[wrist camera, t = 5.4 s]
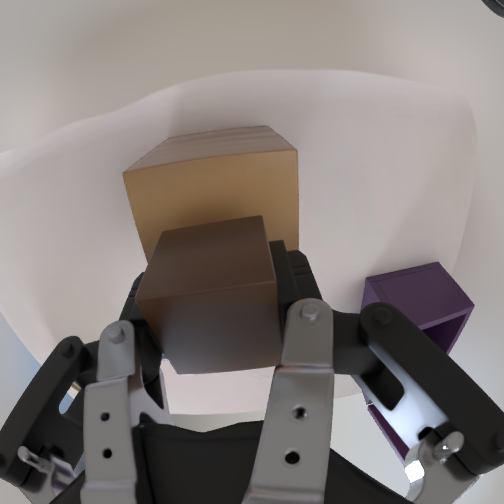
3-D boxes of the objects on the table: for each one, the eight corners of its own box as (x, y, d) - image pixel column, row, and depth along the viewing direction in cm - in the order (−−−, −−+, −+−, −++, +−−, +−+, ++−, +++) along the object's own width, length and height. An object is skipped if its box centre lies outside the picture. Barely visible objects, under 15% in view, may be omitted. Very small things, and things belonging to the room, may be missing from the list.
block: (161, 230, 10) (132, 299, 7) (262, 213, 10) (276, 280, 7) (188, 304, 13) (177, 375, 9) (272, 293, 12) (285, 365, 9)
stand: (167, 138, 20) (121, 172, 11) (269, 125, 20) (297, 149, 11) (184, 226, 24) (161, 304, 15) (274, 216, 24) (298, 291, 16)
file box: (366, 277, 29) (397, 332, 21) (438, 261, 28) (475, 305, 21) (350, 358, 37) (366, 404, 30) (410, 341, 37) (430, 381, 30)
